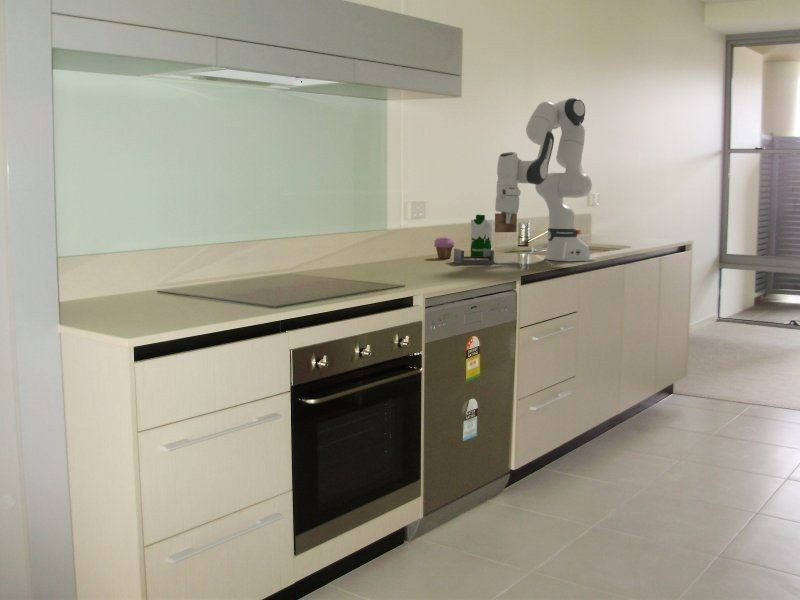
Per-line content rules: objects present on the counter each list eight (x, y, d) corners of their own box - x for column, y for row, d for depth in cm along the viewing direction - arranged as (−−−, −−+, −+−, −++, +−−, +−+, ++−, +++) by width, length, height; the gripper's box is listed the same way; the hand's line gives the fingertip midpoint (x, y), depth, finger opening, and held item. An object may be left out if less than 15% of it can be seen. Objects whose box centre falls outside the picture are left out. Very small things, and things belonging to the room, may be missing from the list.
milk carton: (468, 259, 395) (469, 214, 392) (475, 257, 403) (476, 214, 400) (486, 260, 391) (487, 215, 388) (493, 259, 399) (495, 214, 396)
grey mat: (512, 262, 386) (512, 260, 386) (519, 264, 377) (519, 262, 377) (490, 262, 384) (490, 260, 384) (497, 264, 375) (497, 263, 375)
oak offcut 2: (486, 264, 378) (486, 258, 377) (488, 265, 375) (488, 259, 375) (475, 264, 377) (475, 258, 376) (477, 265, 374) (477, 259, 373)
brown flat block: (514, 231, 381) (514, 213, 380) (516, 232, 378) (516, 213, 377) (494, 232, 379) (495, 213, 378) (496, 232, 376) (496, 213, 375)
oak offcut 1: (473, 264, 376) (473, 258, 376) (474, 265, 374) (474, 259, 373) (462, 264, 376) (462, 258, 376) (463, 265, 373) (463, 259, 373)
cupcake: (447, 259, 392) (447, 237, 391) (430, 258, 397) (430, 236, 395) (457, 258, 399) (457, 236, 398) (440, 257, 404) (441, 235, 403)
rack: (485, 262, 385) (485, 248, 384) (493, 264, 374) (494, 250, 373) (453, 262, 382) (454, 248, 381) (461, 265, 371) (461, 250, 370)
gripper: (492, 190, 385) (491, 221, 387) (507, 191, 366) (506, 224, 368) (505, 190, 387) (504, 221, 389) (522, 191, 367) (520, 224, 369)
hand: (505, 223), depth 378 cm, fingers closed on brown flat block, 2 cm apart
